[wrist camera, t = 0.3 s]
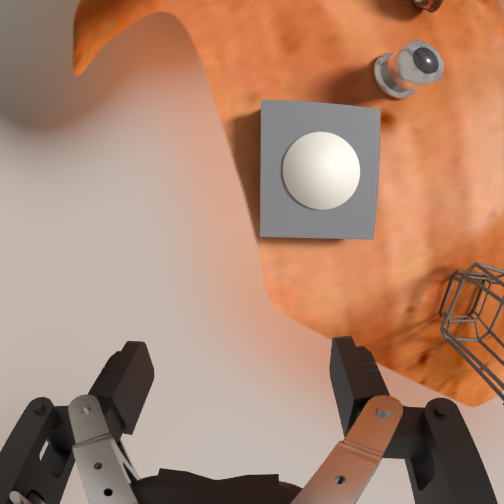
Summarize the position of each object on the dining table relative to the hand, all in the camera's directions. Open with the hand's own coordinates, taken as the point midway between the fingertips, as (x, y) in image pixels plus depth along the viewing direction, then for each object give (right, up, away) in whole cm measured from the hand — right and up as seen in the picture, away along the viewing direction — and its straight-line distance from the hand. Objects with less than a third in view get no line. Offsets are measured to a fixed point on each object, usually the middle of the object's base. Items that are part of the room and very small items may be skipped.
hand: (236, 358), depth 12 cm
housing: (+20, +28, +20) cm, 40 cm away
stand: (+9, +15, +25) cm, 30 cm away
